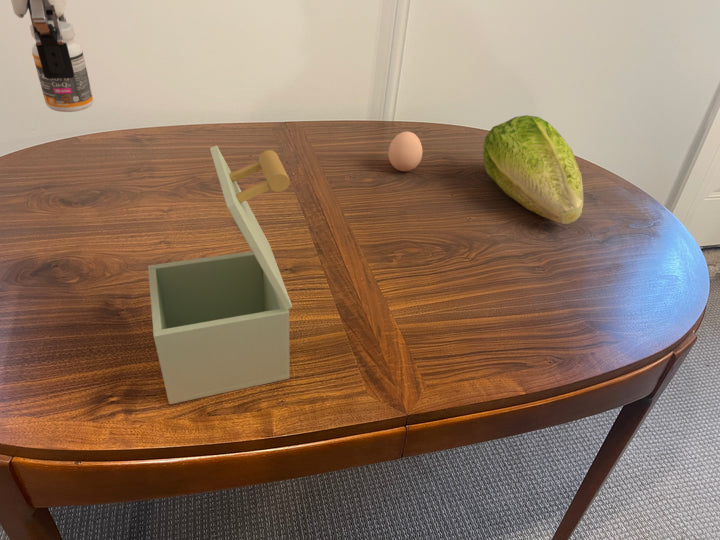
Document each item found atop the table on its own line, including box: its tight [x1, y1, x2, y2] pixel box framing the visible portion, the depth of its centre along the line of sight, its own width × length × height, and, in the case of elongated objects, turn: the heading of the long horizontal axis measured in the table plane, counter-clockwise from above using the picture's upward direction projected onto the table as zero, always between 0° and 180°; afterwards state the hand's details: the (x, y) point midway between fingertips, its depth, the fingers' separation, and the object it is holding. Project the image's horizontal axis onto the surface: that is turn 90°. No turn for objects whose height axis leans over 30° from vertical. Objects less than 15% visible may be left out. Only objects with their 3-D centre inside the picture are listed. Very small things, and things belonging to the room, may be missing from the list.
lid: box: [209, 145, 293, 310], centre depth 56 cm, size 14×12×6 cm
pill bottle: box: [29, 21, 94, 113], centre depth 68 cm, size 6×6×10 cm
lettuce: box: [482, 114, 585, 225], centre depth 98 cm, size 14×24×15 cm
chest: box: [147, 250, 291, 405], centre depth 62 cm, size 14×12×11 cm
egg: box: [387, 131, 424, 172], centre depth 104 cm, size 7×7×8 cm
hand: (61, 67), depth 68 cm, fingers closed on pill bottle, 5 cm apart
